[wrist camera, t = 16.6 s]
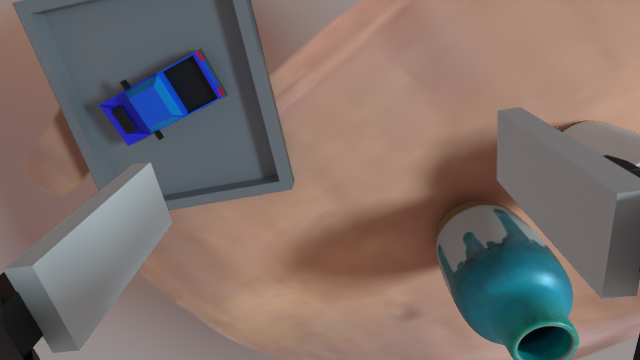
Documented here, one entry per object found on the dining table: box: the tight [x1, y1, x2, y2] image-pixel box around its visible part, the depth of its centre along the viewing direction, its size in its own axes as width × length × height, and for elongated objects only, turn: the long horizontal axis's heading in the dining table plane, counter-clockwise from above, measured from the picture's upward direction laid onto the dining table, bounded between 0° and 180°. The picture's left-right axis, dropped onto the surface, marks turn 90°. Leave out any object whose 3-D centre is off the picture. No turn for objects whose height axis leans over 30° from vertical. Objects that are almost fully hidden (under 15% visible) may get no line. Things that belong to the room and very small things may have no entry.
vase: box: [435, 200, 579, 360], centre depth 41 cm, size 11×11×19 cm
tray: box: [13, 0, 294, 210], centre depth 43 cm, size 24×22×2 cm
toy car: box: [99, 49, 228, 146], centre depth 41 cm, size 7×12×5 cm, turn 116°
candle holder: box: [563, 121, 640, 168], centre depth 40 cm, size 10×10×12 cm
